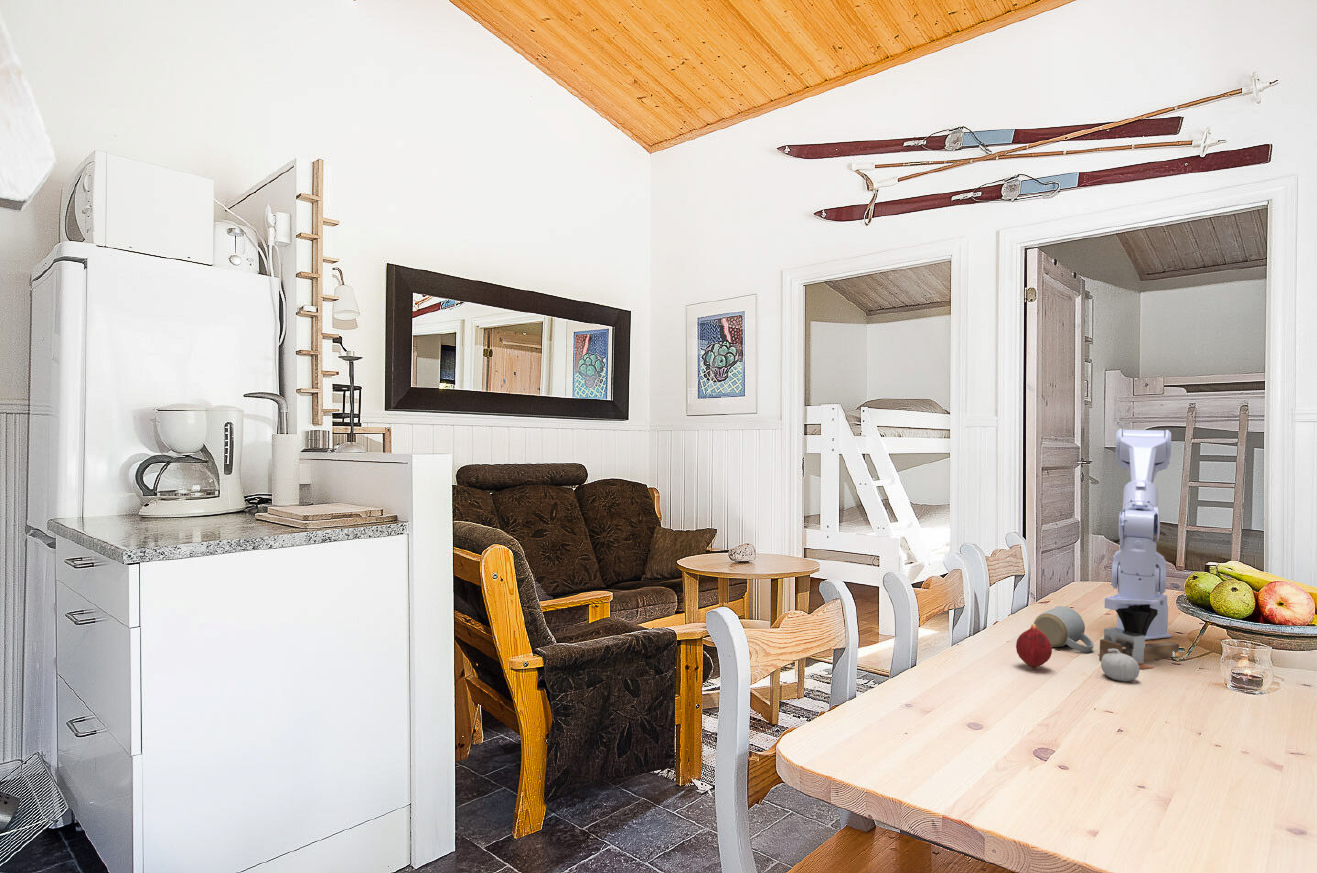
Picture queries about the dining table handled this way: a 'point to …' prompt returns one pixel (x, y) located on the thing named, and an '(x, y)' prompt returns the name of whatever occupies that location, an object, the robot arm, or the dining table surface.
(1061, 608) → the ceramic mug
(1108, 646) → the rail
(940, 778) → the dining table surface
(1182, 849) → the dining table surface
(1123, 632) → the gray arch block
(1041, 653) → the onion
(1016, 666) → the dining table surface
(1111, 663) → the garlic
